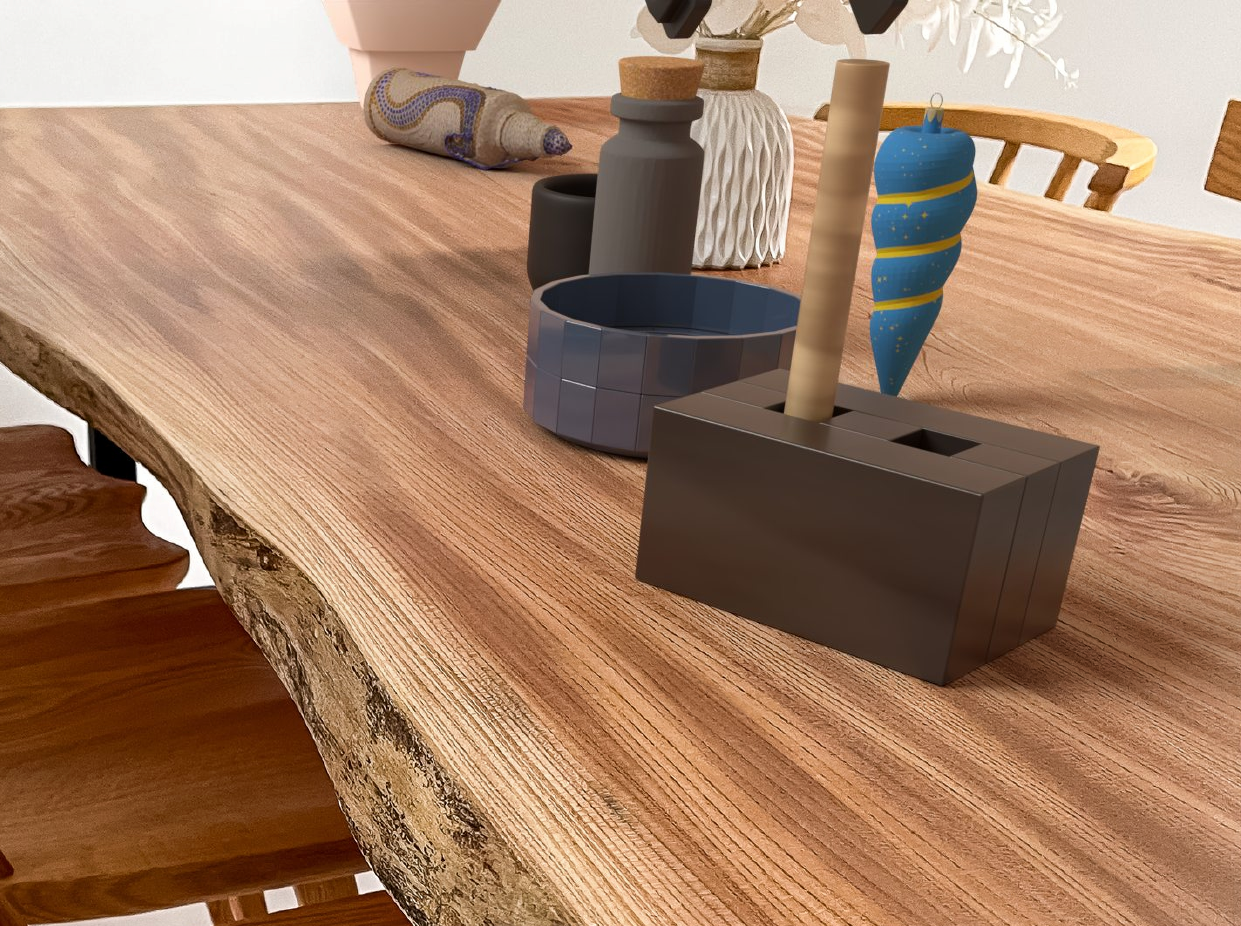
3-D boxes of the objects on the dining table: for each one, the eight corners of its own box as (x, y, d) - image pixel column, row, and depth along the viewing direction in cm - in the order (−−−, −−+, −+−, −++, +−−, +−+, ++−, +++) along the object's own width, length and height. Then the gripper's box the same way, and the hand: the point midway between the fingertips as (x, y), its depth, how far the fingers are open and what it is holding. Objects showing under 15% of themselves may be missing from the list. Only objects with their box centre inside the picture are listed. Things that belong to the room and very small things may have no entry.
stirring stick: (775, 571, 71) (854, 57, 61) (813, 583, 70) (900, 62, 60) (750, 582, 70) (826, 61, 60) (787, 594, 69) (871, 66, 59)
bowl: (297, 107, 187) (297, -40, 180) (473, 106, 190) (480, -39, 183) (327, 133, 171) (328, -27, 164) (517, 132, 175) (528, -25, 167)
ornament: (889, 418, 90) (946, 102, 83) (815, 394, 94) (863, 90, 86) (956, 404, 93) (1017, 96, 85) (881, 381, 96) (934, 84, 89)
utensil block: (755, 532, 75) (779, 368, 71) (1056, 626, 67) (1101, 445, 63) (633, 579, 70) (652, 405, 66) (942, 687, 62) (983, 494, 58)
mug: (517, 287, 114) (525, 171, 111) (654, 289, 115) (666, 173, 111) (537, 334, 104) (547, 208, 100) (687, 336, 104) (702, 211, 101)
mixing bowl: (638, 372, 97) (649, 260, 94) (856, 429, 89) (877, 307, 85) (466, 419, 89) (473, 297, 86) (689, 486, 80) (705, 354, 77)
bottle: (702, 341, 103) (737, 62, 95) (640, 358, 100) (671, 70, 92) (625, 321, 107) (652, 51, 99) (562, 337, 103) (585, 58, 95)
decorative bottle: (356, 145, 165) (358, 67, 162) (421, 140, 169) (424, 65, 165) (525, 187, 147) (532, 101, 143) (594, 181, 150) (602, 97, 147)
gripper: (530, -456, 60) (674, -57, 57) (866, -426, 65) (1014, -59, 62) (454, -266, 67) (578, 99, 64) (763, -252, 72) (892, 86, 69)
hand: (793, 21), depth 63 cm, fingers open, 8 cm apart
